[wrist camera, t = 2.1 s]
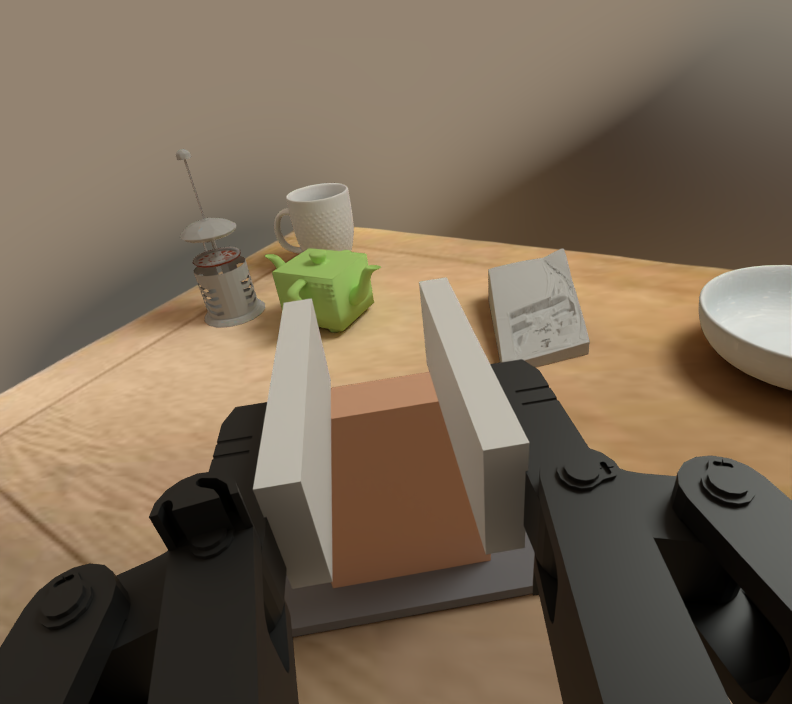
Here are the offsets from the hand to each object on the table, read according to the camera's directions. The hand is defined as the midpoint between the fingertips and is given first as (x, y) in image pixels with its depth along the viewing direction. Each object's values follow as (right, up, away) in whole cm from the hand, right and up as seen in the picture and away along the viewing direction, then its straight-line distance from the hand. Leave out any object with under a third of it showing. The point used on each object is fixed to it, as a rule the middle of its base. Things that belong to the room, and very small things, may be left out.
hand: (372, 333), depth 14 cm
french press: (-26, +6, +67) cm, 72 cm away
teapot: (-9, +4, +61) cm, 62 cm away
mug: (-13, +17, +80) cm, 83 cm away
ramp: (+20, +4, +54) cm, 58 cm away
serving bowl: (+44, -2, +40) cm, 60 cm away
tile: (+2, -16, +24) cm, 29 cm away
